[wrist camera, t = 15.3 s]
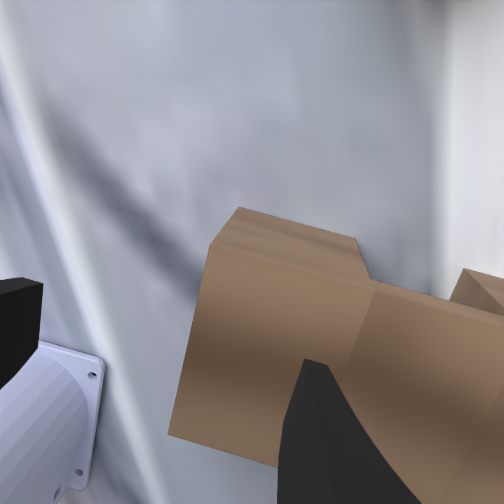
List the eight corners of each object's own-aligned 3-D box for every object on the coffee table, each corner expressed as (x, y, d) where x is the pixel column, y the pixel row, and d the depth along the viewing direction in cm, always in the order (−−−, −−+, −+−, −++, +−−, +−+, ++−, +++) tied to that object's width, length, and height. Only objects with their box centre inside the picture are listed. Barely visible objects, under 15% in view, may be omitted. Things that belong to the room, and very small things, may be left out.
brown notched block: (506, 439, 21) (578, 557, 16) (203, 352, 22) (167, 434, 16) (586, 301, 19) (706, 382, 13) (238, 206, 19) (209, 245, 14)
